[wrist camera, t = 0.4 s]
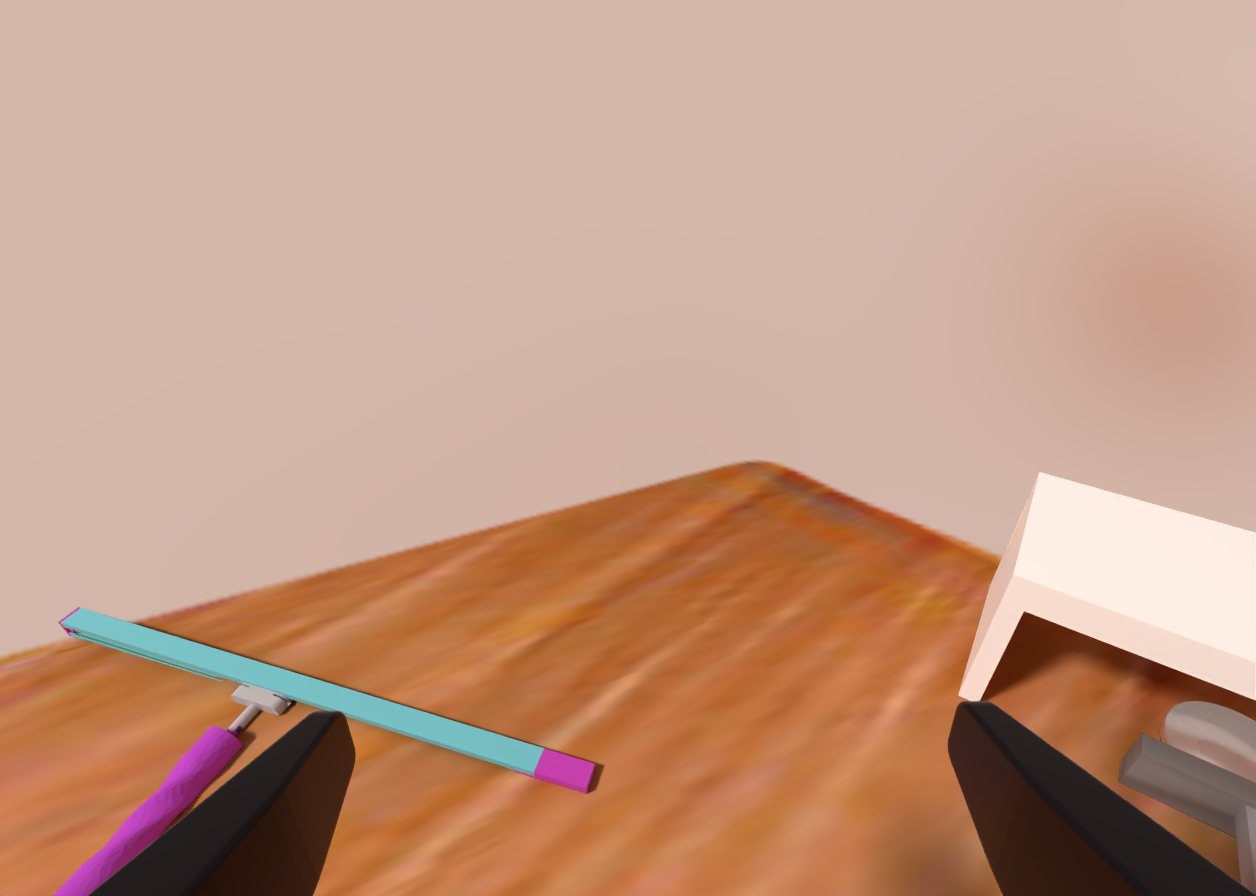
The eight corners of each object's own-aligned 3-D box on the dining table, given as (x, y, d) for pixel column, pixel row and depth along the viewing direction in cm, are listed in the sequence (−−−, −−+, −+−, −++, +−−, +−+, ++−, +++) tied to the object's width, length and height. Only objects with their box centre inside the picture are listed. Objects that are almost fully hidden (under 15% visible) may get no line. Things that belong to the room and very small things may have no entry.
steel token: (1331, 811, 23) (1348, 798, 22) (1231, 833, 22) (1245, 820, 22) (1218, 707, 26) (1230, 693, 26) (1129, 723, 26) (1139, 710, 25)
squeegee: (-188, 795, 23) (76, 603, 31) (-156, 816, 24) (92, 624, 32) (470, 1113, 16) (594, 760, 24) (479, 1125, 17) (596, 781, 25)
